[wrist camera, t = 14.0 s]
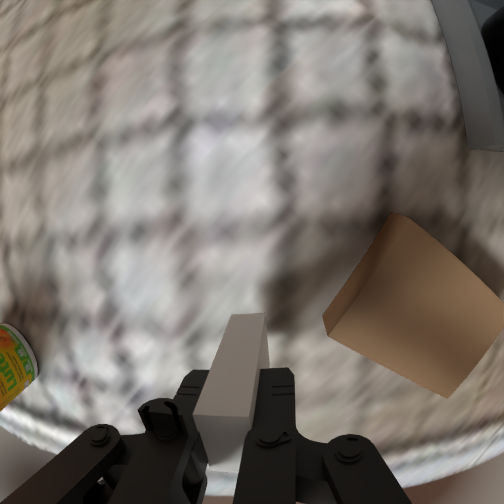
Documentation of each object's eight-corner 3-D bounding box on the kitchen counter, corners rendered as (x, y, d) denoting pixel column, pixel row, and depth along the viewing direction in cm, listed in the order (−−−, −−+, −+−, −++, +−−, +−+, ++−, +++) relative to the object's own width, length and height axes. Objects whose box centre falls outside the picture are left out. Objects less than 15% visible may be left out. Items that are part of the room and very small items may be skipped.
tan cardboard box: (388, 211, 13) (408, 217, 11) (489, 296, 14) (512, 312, 11) (321, 312, 15) (327, 336, 12) (432, 375, 15) (447, 398, 13)
